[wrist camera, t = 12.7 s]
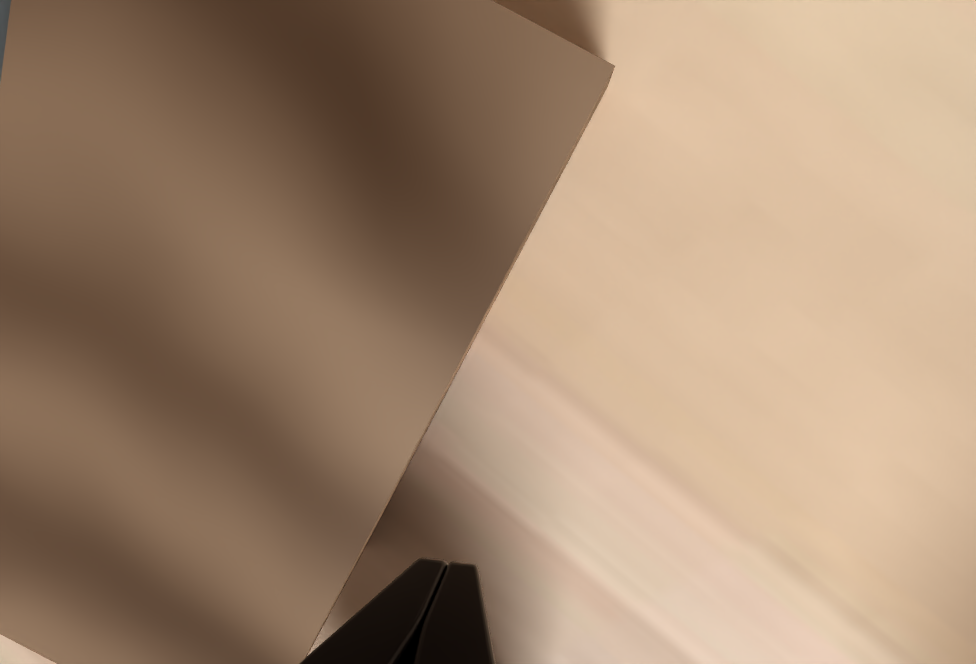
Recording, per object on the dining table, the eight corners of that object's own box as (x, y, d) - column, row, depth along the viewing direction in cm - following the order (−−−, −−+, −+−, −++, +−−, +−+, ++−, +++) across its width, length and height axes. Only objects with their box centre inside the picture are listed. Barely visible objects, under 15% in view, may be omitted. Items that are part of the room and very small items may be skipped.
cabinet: (364, 548, 25) (249, 763, 17) (152, 437, 25) (-68, 599, 17) (607, 86, 18) (615, 65, 9) (305, -76, 18) (42, -241, 9)
